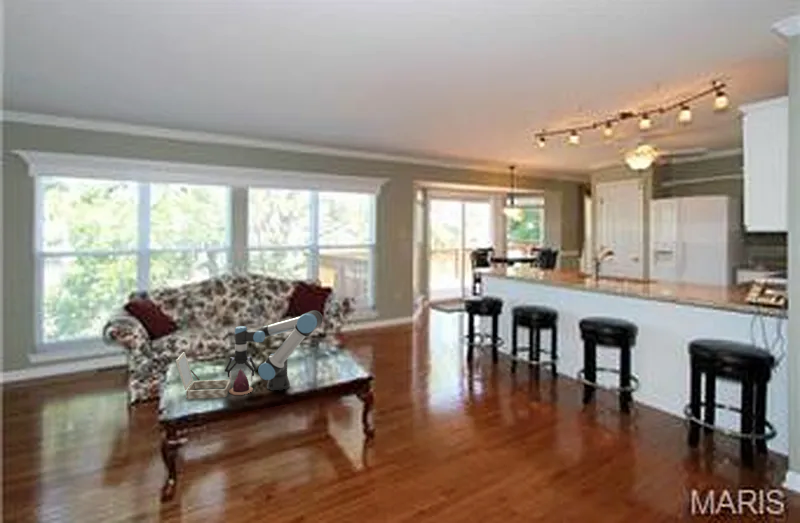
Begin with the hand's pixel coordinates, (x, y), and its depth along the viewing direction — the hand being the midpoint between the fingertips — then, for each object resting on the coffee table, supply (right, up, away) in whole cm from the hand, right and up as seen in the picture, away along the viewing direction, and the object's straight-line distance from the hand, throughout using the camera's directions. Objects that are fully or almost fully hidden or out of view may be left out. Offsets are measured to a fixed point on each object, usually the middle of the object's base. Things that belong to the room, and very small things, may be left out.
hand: (241, 381), depth 330 cm
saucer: (0, -7, +1) cm, 7 cm away
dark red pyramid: (0, -6, +1) cm, 6 cm away
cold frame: (-20, -7, -3) cm, 21 cm away
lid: (-34, +9, -7) cm, 36 cm away
